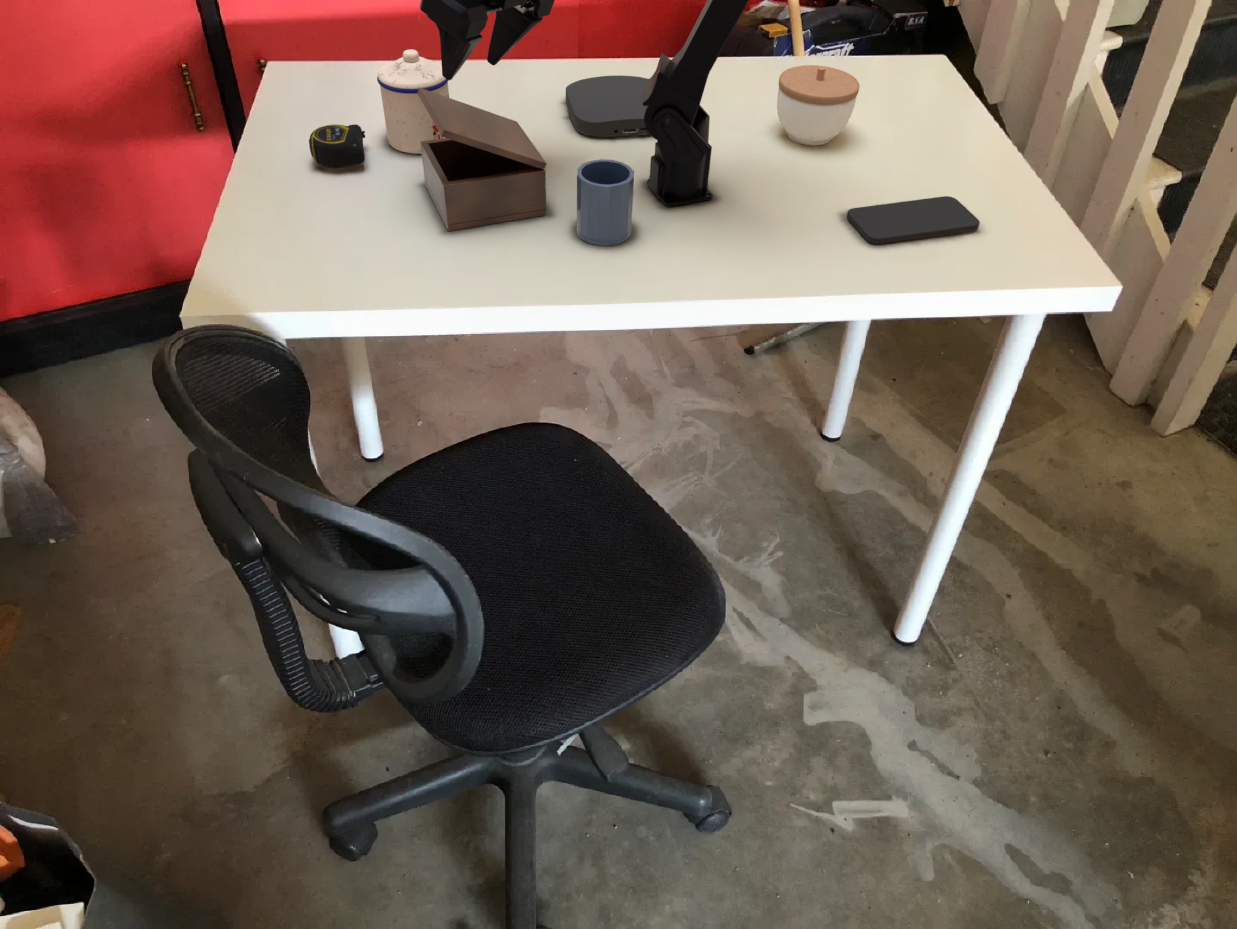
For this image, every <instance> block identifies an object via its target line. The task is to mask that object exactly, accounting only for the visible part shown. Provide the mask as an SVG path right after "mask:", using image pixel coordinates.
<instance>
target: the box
mask: <svg viewBox="0 0 1237 929" xmlns="http://www.w3.org/2000/svg"><path fill="white" fill-rule="evenodd" d="M420 144H421V152H422V154H421V161H422V167H423V168H422V169H423V177H424V184H425V187H426V189H427V191H428V193H429V196H430V198H431V199H432V201H433V203H434V205H435V208H436V210H437V211H438V214H439V215H440V217H441V219H442V221H443V223H444V225H445V228H446V230H447V232H451V231H453V232H454V231H457V230H458V231H459V230H464V229H470V228H477V227H483V226H487V225H494V224H501V223H505V222H513V221H519V220H525V219H530V218H536V217H542V216H546V215H547V186H546V185H547V184H546V183H547V182H546V181H547V180H546V178H547V177H546V168H545V169H541V168H537V167H534V166H531V165H528V164H525V163H522V162H519V161H516V160H513V159H510V158H507V157H504V156H500V155H497V154H494V153H491V152H488V151H485V150H482V149H479V148H476V147H473V146H470V145H466V144H463V143H460V142H457V141H454V140H451V139H448V138H442V139H435V140H428V141H421V142H420Z"/></svg>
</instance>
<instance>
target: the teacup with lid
mask: <svg viewBox="0 0 1237 929" xmlns="http://www.w3.org/2000/svg"><path fill="white" fill-rule="evenodd" d="M419 54H420V53H419V51H418V50H416V49H412V48H411V49H406V50H404V51H403V52H402V57H399V58H398V59H396V60H393V61H390V62H388V63H386V64H384V65H383V66H381V67H380V69H379V70H378V72H377V76H376V80H377V83H378V85H379V87H380V95H381V104H382V108H383V115H384V123H385V130H386V137H387V142H388V144H389V145H390V146H391V147H392V148H394V149H395V150H397V151H399V152H402V153H406V154H412V155H413V154H414V155H422V152H421V144H420V142H421V141H428V140H435V139H442V138H445V137H442V136H441V135H440V133H439V131H438V129H437V127H436V126H435V124H434V122H433V120H432V119H431V117H430V115H429V113H428V112H427V110H426V108H425V106H424V104H423V103H422V101H421V99H420V97H419V96H418V91H419V88H422V89H425V90H428V91H431V92H434V93H437V94H440V95H442V96H445V97H448V98H450V91H449V80H447V79H446V78H444V77H443V75H442V63H440V62H438V61H435V60H432V59H428V58H426V57H423V56H420V55H419Z"/></svg>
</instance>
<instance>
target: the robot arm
mask: <svg viewBox="0 0 1237 929" xmlns="http://www.w3.org/2000/svg"><path fill="white" fill-rule="evenodd" d="M555 1H556V0H420V3H419V10H420V11H421V12H422V13H424V14H425V15H426V17H427V18H428V19H429V21H431V22H433V23H434V24H435V25H436V27H437V31H438V35H439V42H440V57H441V58H440V59H441V61H440V62H441V64H442V75H443V77H444V78H446V79H447V80H448V81H452V80H453V79H454V78H455V76H456V75H457V74H458V73H459V71H460V70H461V68H462V67H463V65H464V64H465V62H466V61H467V60H468V58H469V57H470V55H471V54H472V53H473V51H474V50H476V47H477V46H478V45H479V43H480V42H481V40H482V39H483V35H481V33H482V32H483V30H485V28H486V26H487V22H488V20H489V15H488V14H492V13H495V18H494V23H493V28H492V32H491V33H492V34H491V37H490V42H489V44H488V45H489V46H488V49H487V50H488V51H487V52H488V53H487V58H486V61H487V63H489V65H491V66H496V65H498V63H500V61H501V60H502V59H503V58H504V57H505V56H506V55H507V54H508V53H509V52H510V51H511V50H512V49H513V48H514V47H515V46H516V45H518V43H519V42H520V41H521V40H523V38H524V37H525V36H526V35H527V34H528V33H530V31H532V30H533V29H534V28H535V27H536V26H537V25H538V24H540V23H541V22H542V21H543V17H546V16H550V14H551V11H552V10H553V6H554V4H555ZM749 2H750V0H706V2H705V4H704V6H703V8H702V9H701V11H700V14H699V16H698V18H697V20H696V22H695V23H694V25H693V27H692V29H691V31H690V33H689V35H688V37H687V39H686V40H685V42H684V45H683V46H682V47H681V49H680V50H679V51H678V52H677V53H676V54H675V56H673V57H672V58H671V59H670V58H669V57H668V56H667V55H665V54H664V53H661V54H660V56H659V59H658V63H657V66H656V69H655V71H654V73H653V74H652V76H650V77H649V78H647V79H648V80H647V82H646V88H645V94H644V99H643V106H646V108H645V114H644V123H645V126H646V129H647V131H648V132H649V134H648V135H650V136H651V137H652V138H653V139H654V140H656V142H655V143H654V155H651V157H650V164H649V165H650V166H649V168H650V169H649V178H648V179H647V180H646V183H647V185H648V187H649V188H650V189H651V190H652V192H653V193H654V194H655V195H656V197H657V198H658V199H659V200H660V202H662V204H663V205H664V206H666V207H674V206H680V205H686V204H691V203H697V202H702V201H710V200H712V199H714V194H713V193H712V191H711V190H710V189H709V188H708V186H709V179H710V178H709V177H710V169H711V159H712V149H713V146H712V145H711V144H710V143H709V139H710V138H709V136H710V118H711V117H710V115H709V113H708V112H707V111H706V110H705V108H704V107H703V106H702V105H701V102H702V98H703V95H704V92H705V88H706V85H707V81H708V78H709V74H710V73H711V71H712V69H713V67H714V65H715V63H716V62H717V60H718V58H719V56H720V54H721V53H722V51H723V49H724V47H725V46H726V44H727V42H728V40H729V38H730V36H731V35H732V32H733V31H734V29H735V27H736V25H737V23H738V22H739V21H740V18H741V16H742V15H743V13H744V11H745V9H746V8H747V6H748V4H749Z"/></svg>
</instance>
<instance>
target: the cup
mask: <svg viewBox="0 0 1237 929" xmlns="http://www.w3.org/2000/svg"><path fill="white" fill-rule="evenodd" d="M576 170H577V172H576V233H577V236H578V237H579V238H580V239H581V240H582V241H584V242H586V243H587V244H588V243H589V244H591V245H594V246H602V247H609V246H610V247H611V246H616V245H619V244H622V243H624V242H626V241H627V240H628V239H629V238H630V236H631V235H632V223H633V203H634V200H633V199H634V185H635V171H634V169H633V168H632V167H631V166H630V165H628V164H627V163H625V162H622V161H620V160H615V159H605V158H600V159H595V160H594V159H593V160H589V161H587V162H584V163H582V164H581V165H580V166H578V168H577V169H576Z"/></svg>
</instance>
